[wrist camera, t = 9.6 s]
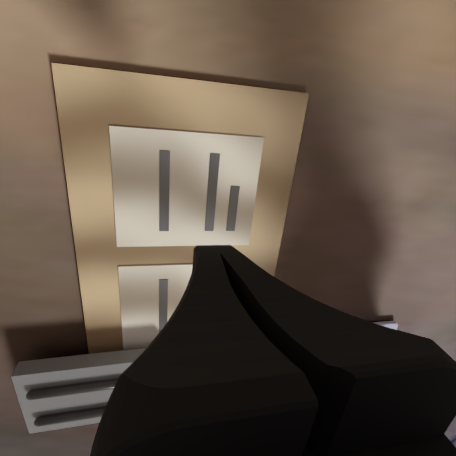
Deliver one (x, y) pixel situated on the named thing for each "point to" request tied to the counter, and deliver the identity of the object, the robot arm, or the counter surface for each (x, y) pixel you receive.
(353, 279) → the counter surface
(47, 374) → the grey slotted block
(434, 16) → the counter surface
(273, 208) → the label board
